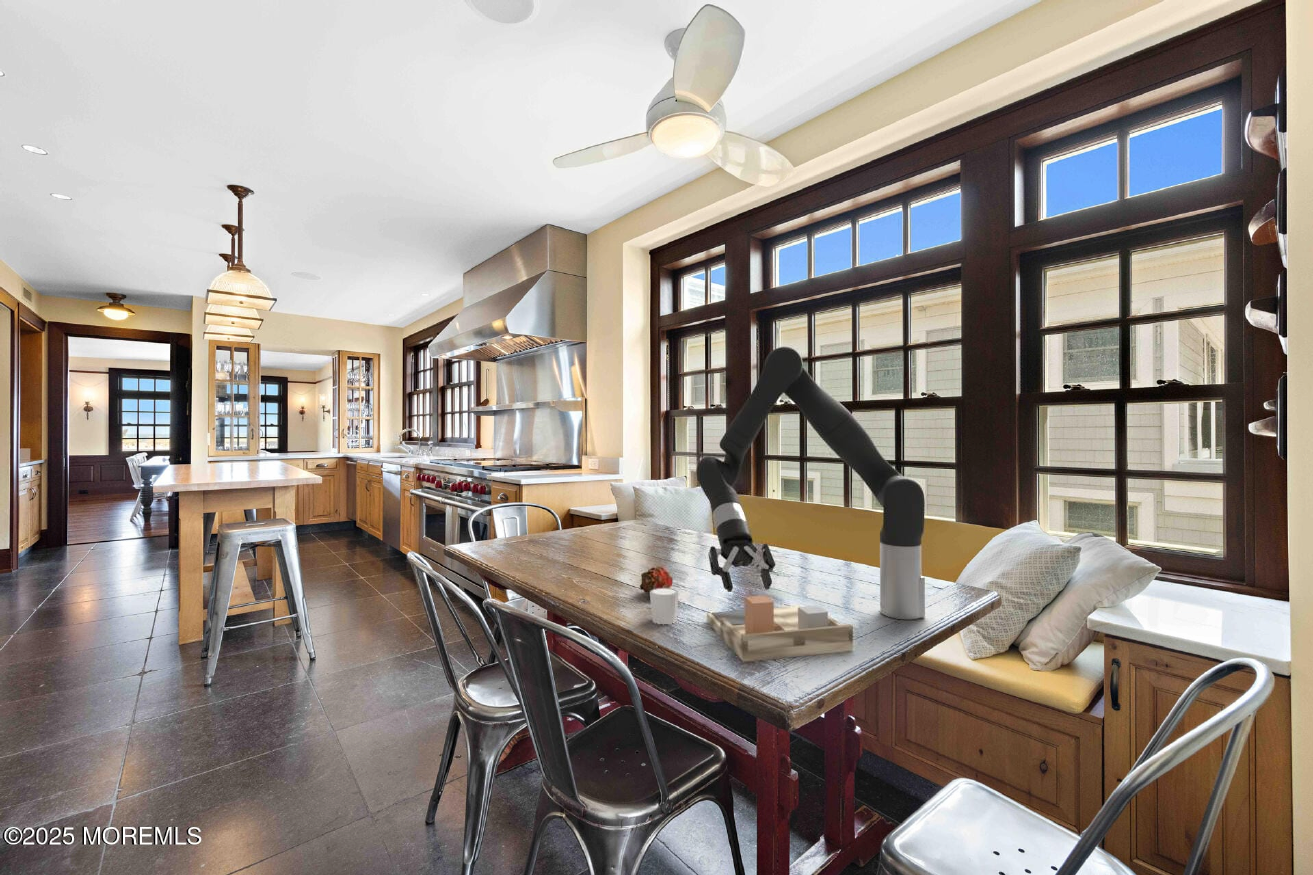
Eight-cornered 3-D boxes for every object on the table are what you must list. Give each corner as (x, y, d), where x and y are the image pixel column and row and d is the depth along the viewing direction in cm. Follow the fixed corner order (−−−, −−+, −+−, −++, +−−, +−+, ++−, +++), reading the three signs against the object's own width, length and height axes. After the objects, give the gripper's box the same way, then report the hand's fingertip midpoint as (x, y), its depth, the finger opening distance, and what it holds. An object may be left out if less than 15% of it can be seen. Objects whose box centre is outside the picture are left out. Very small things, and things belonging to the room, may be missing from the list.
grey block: (798, 630, 123) (798, 607, 123) (817, 628, 124) (817, 605, 124) (807, 637, 119) (807, 613, 119) (827, 635, 120) (827, 612, 120)
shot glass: (658, 627, 132) (658, 597, 132) (645, 618, 138) (644, 589, 138) (684, 622, 135) (684, 592, 135) (670, 614, 141) (669, 585, 141)
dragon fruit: (649, 608, 151) (657, 601, 163) (675, 589, 150) (681, 584, 162) (631, 580, 153) (640, 576, 165) (656, 562, 152) (664, 558, 164)
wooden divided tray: (707, 621, 136) (706, 600, 136) (799, 613, 140) (799, 593, 140) (743, 661, 112) (743, 636, 112) (852, 650, 117) (852, 626, 117)
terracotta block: (745, 635, 121) (744, 597, 121) (765, 633, 122) (764, 595, 122) (753, 642, 116) (752, 603, 116) (773, 640, 117) (773, 601, 117)
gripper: (705, 518, 131) (721, 581, 120) (764, 516, 134) (785, 577, 123) (699, 537, 136) (714, 599, 125) (756, 534, 139) (775, 595, 128)
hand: (749, 588), depth 124 cm, fingers open, 8 cm apart
